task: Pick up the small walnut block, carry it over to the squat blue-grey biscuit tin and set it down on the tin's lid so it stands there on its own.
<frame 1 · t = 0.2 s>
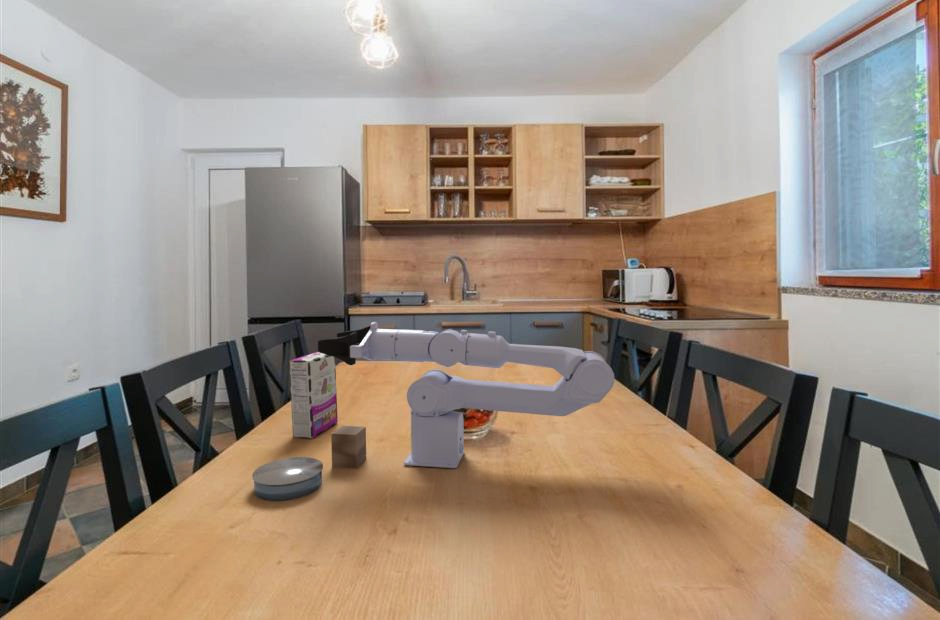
hand: (328, 342, 87), 21 cm above the table, tool horizontal, fingers open, 7 cm apart
biscuit tin: (289, 487, 74), on the table
walnut block: (349, 463, 84), on the table
candy bar box: (315, 431, 102), on the table
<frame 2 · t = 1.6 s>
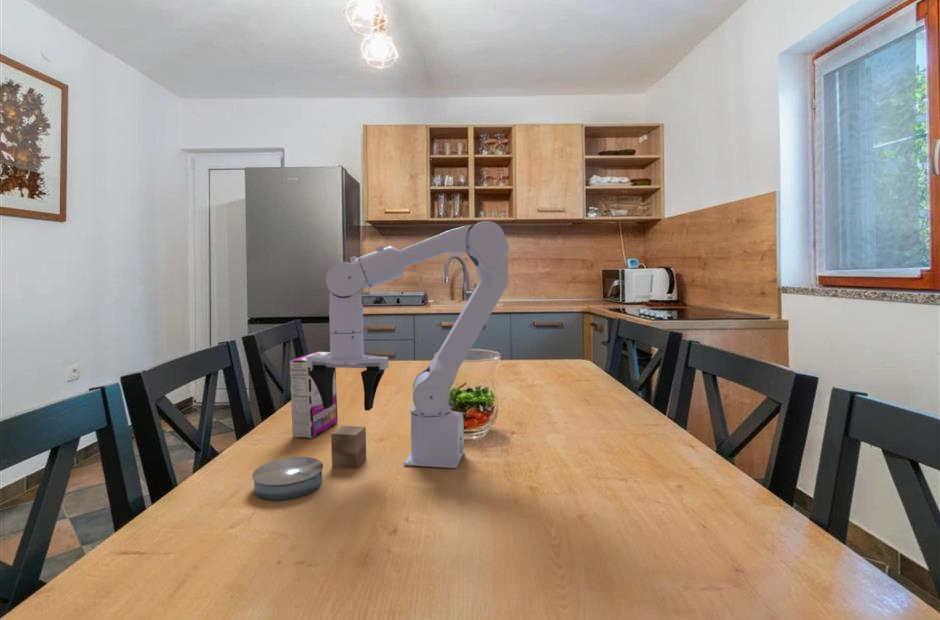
hand: (348, 408, 83), 10 cm above the table, tool pointing down, fingers open, 7 cm apart
nothing on the table moved.
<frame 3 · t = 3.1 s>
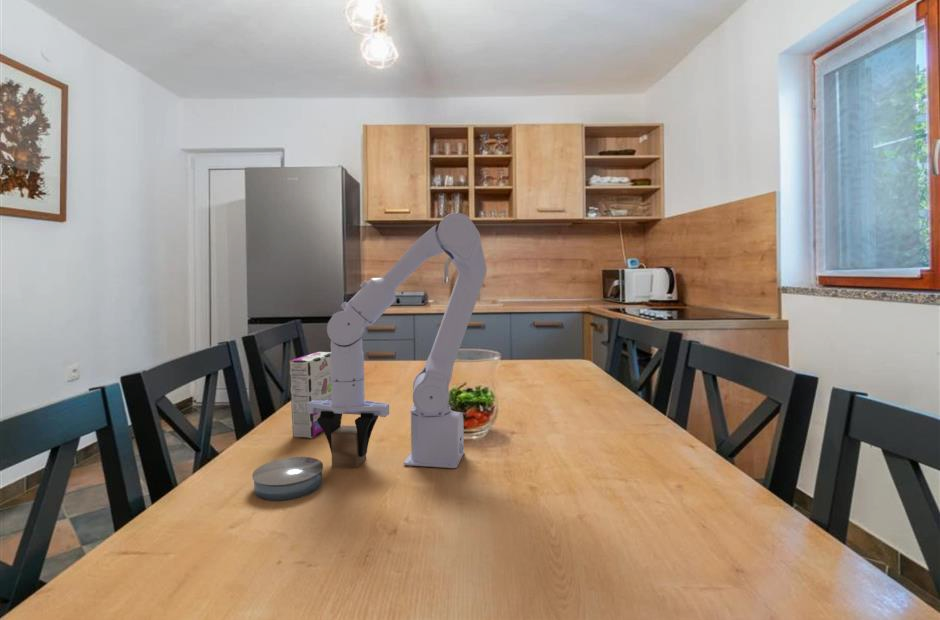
hand: (349, 453, 84), 2 cm above the table, tool pointing down, fingers closed on walnut block, 4 cm apart
walnut block: (349, 462, 84), on the table, touching gripper
everything else where it was.
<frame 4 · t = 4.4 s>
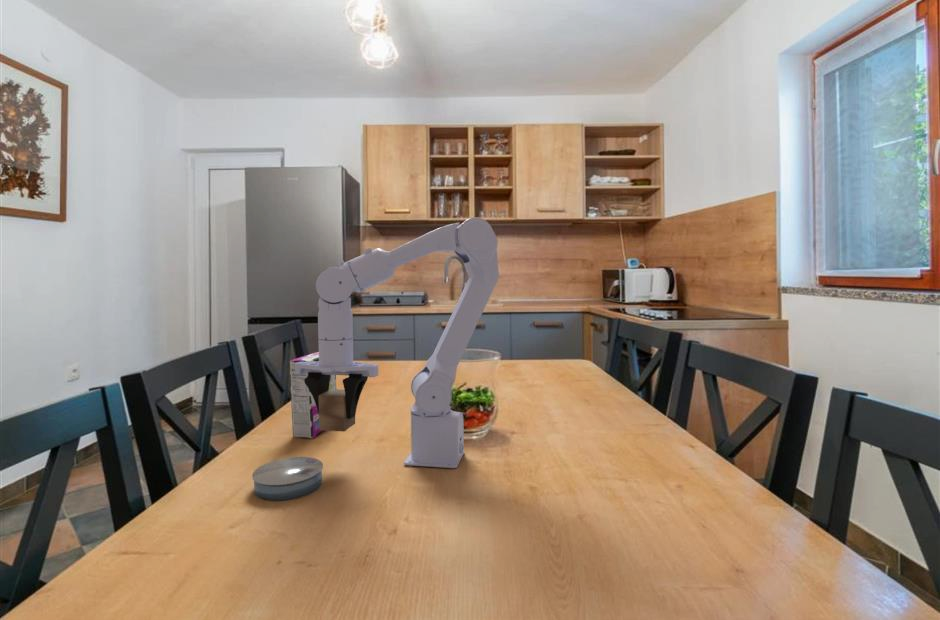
hand: (337, 416, 81), 9 cm above the table, tool pointing down, fingers closed on walnut block, 4 cm apart
walnut block: (337, 426, 81), point 7 cm above the table, touching gripper
everything else where it was.
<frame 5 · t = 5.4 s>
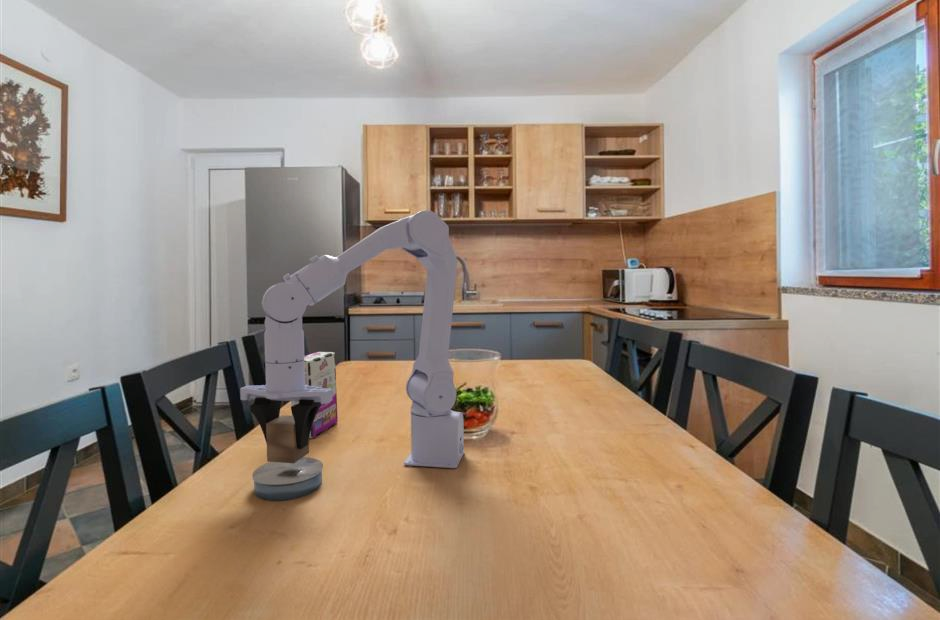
hand: (287, 445, 74), 7 cm above the table, tool pointing down, fingers closed on walnut block, 4 cm apart
walnut block: (288, 457, 74), point 5 cm above the table, touching gripper
everything else where it was.
when the fingers open (6 cm above the table, at t = 6.0 s): walnut block drops 1 cm, resting on biscuit tin.
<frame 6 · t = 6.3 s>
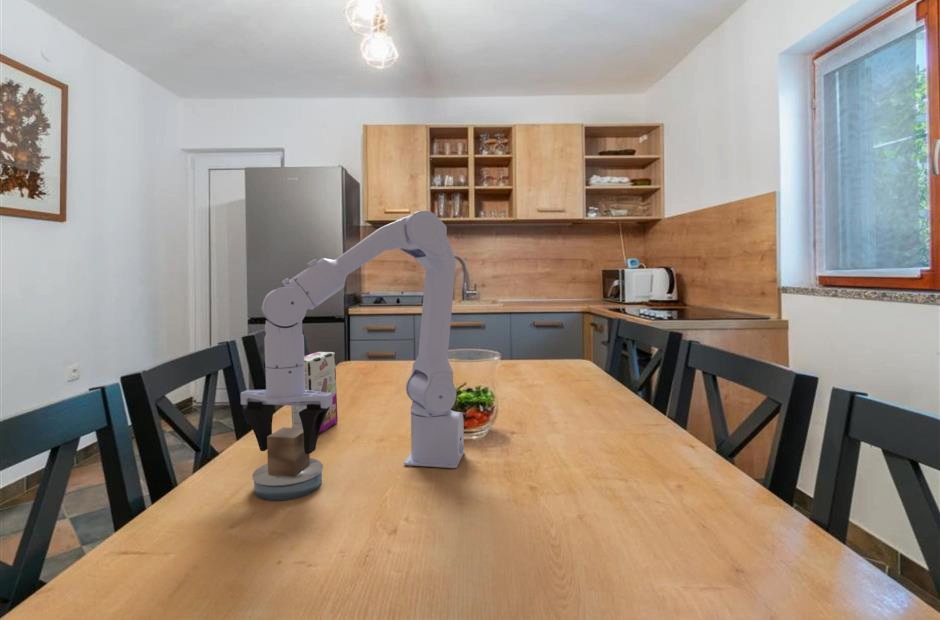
hand: (287, 450, 74), 6 cm above the table, tool pointing down, fingers open, 7 cm apart
biscuit tin: (289, 488, 74), on the table, touching walnut block
walnut block: (289, 469, 74), point 3 cm above the table, touching biscuit tin
everything else where it was.
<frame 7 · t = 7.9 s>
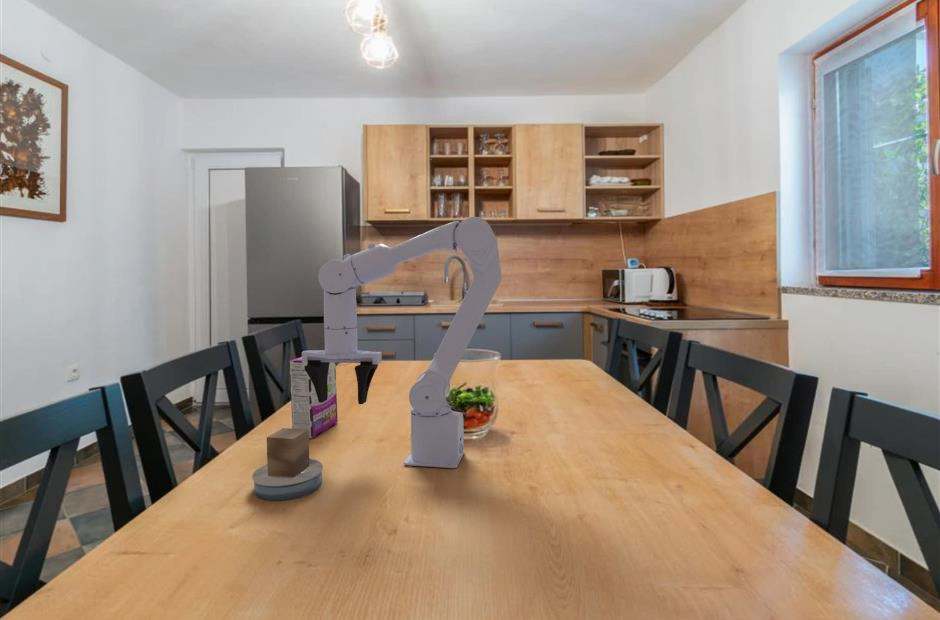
hand: (342, 402, 85), 10 cm above the table, tool pointing down, fingers open, 7 cm apart
nothing on the table moved.
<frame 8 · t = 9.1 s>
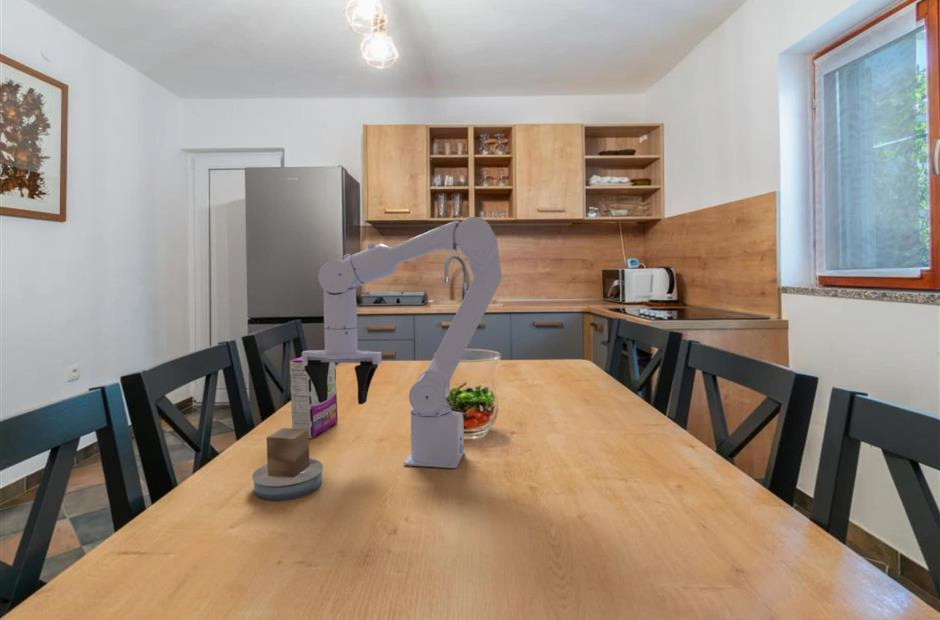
hand: (342, 402, 85), 10 cm above the table, tool pointing down, fingers open, 7 cm apart
nothing on the table moved.
at the end: walnut block 0.1 cm off-centre on the biscuit tin, point 3.0 cm above the biscuit tin's base; walnut block tilted 0°; the gripper is holding nothing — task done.
